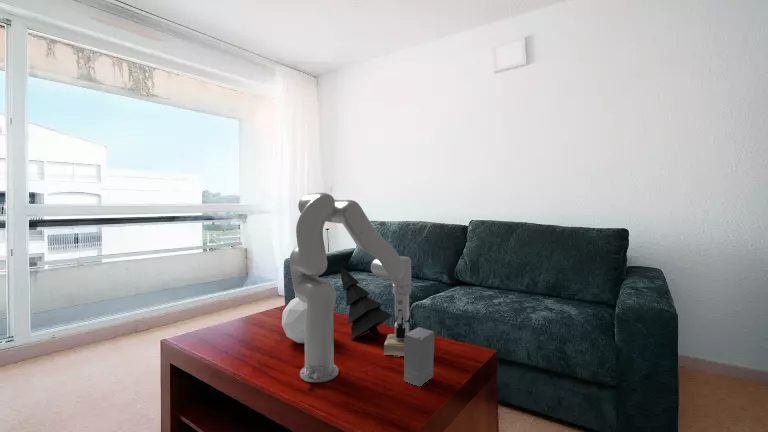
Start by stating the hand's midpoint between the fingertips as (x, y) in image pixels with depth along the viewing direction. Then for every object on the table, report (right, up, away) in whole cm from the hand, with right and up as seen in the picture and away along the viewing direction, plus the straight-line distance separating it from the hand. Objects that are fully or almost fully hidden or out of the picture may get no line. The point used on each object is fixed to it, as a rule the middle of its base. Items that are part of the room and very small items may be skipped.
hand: (401, 335), depth 140 cm
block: (0, -1, 0) cm, 1 cm away
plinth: (0, -6, 0) cm, 6 cm away
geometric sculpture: (-39, -6, +10) cm, 41 cm away
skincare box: (+4, -7, -25) cm, 26 cm away
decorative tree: (-17, -6, +17) cm, 24 cm away
